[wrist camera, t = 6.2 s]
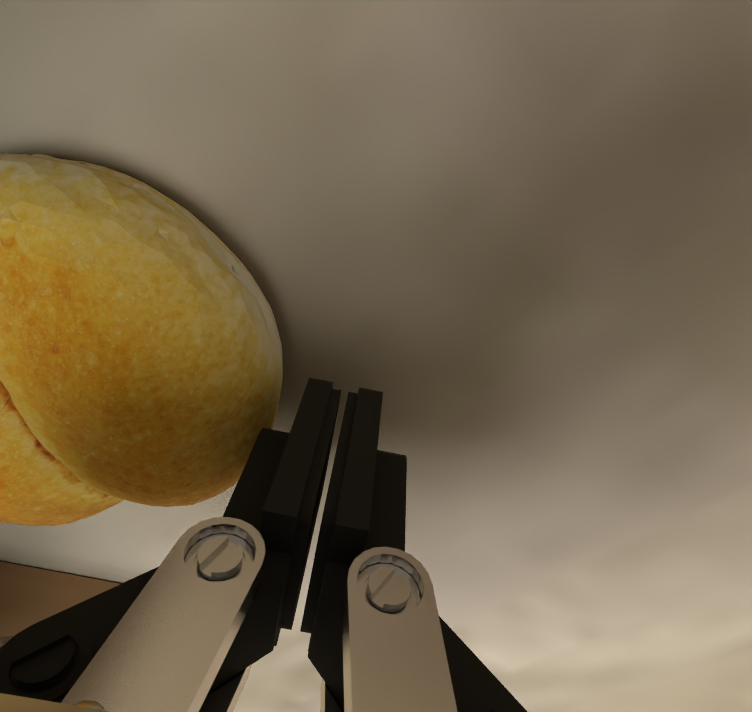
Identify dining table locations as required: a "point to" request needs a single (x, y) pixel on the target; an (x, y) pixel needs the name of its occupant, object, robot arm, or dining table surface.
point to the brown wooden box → (40, 595)
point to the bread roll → (121, 347)
